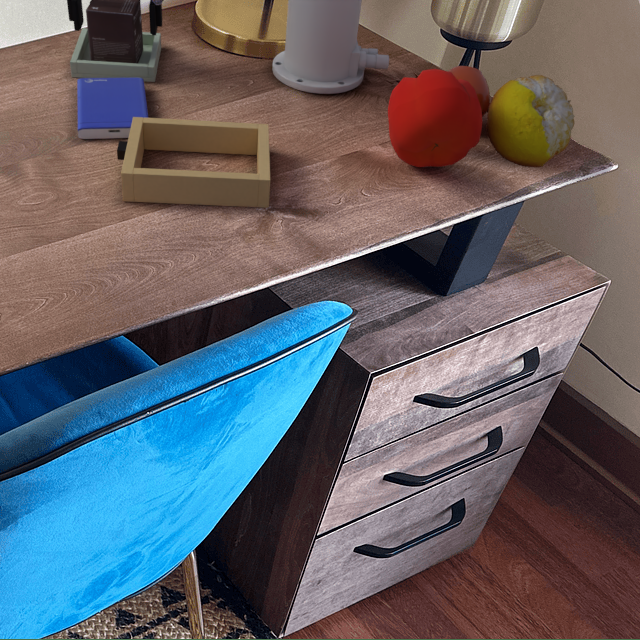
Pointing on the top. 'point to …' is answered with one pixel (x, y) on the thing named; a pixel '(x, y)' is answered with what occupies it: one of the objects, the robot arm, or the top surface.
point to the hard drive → (109, 106)
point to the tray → (101, 69)
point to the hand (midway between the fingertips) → (116, 28)
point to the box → (115, 30)
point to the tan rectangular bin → (195, 183)
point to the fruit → (530, 120)
